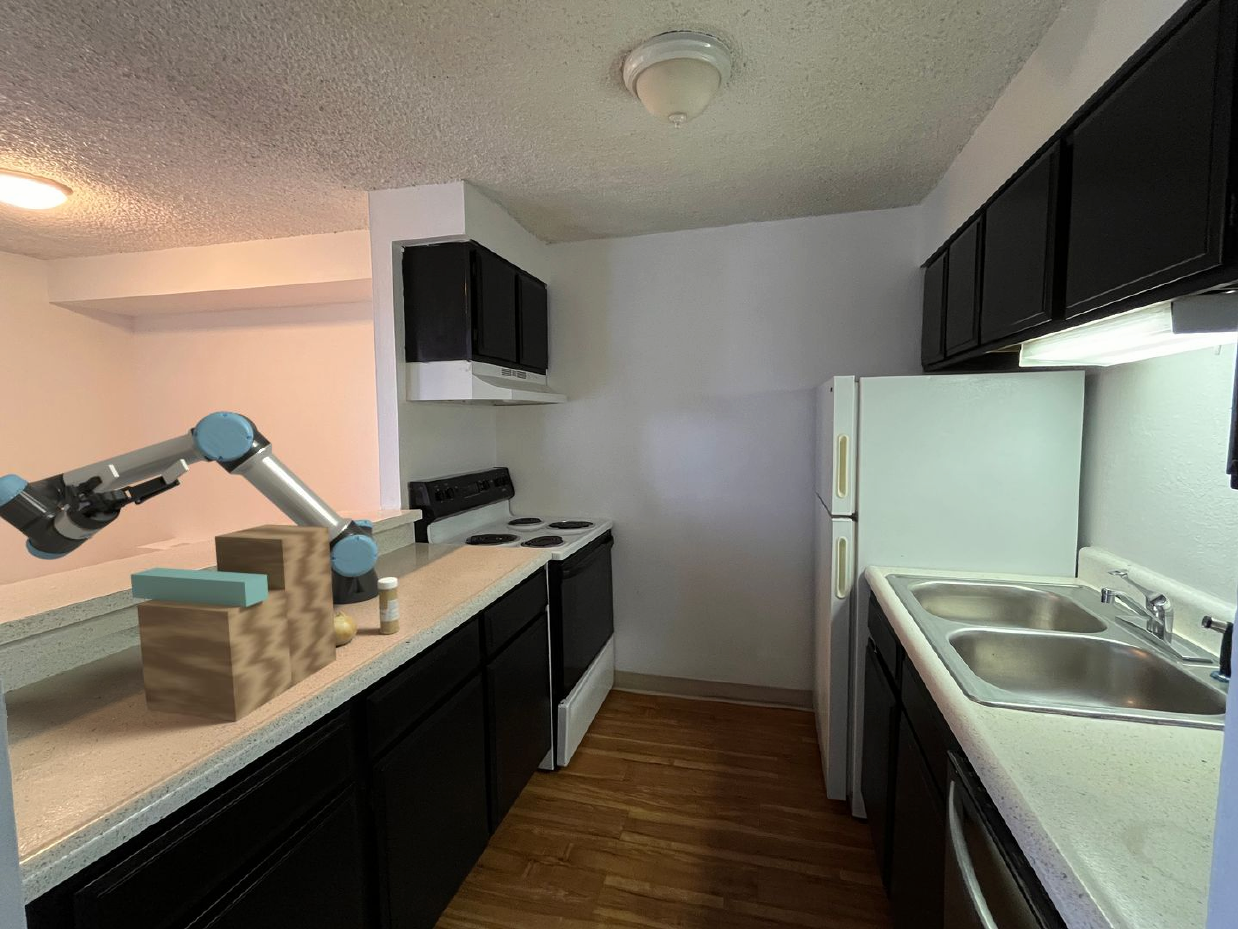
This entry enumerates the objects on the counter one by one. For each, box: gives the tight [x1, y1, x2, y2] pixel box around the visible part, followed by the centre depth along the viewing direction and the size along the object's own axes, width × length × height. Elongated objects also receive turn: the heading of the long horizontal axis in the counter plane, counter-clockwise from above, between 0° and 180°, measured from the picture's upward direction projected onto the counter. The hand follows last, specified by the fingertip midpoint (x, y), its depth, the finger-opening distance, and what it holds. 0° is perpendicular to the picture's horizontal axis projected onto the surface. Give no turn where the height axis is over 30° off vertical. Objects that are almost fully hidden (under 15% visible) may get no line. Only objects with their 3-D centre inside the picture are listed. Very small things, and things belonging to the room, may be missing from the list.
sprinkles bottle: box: [378, 576, 400, 635], centre depth 129 cm, size 5×5×14 cm
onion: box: [333, 611, 358, 647], centre depth 123 cm, size 8×8×7 cm
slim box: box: [130, 567, 268, 607], centre depth 97 cm, size 4×26×4 cm, turn 78°
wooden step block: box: [136, 524, 337, 722], centre depth 104 cm, size 24×20×30 cm
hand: (151, 467), depth 108 cm, fingers open, 13 cm apart
